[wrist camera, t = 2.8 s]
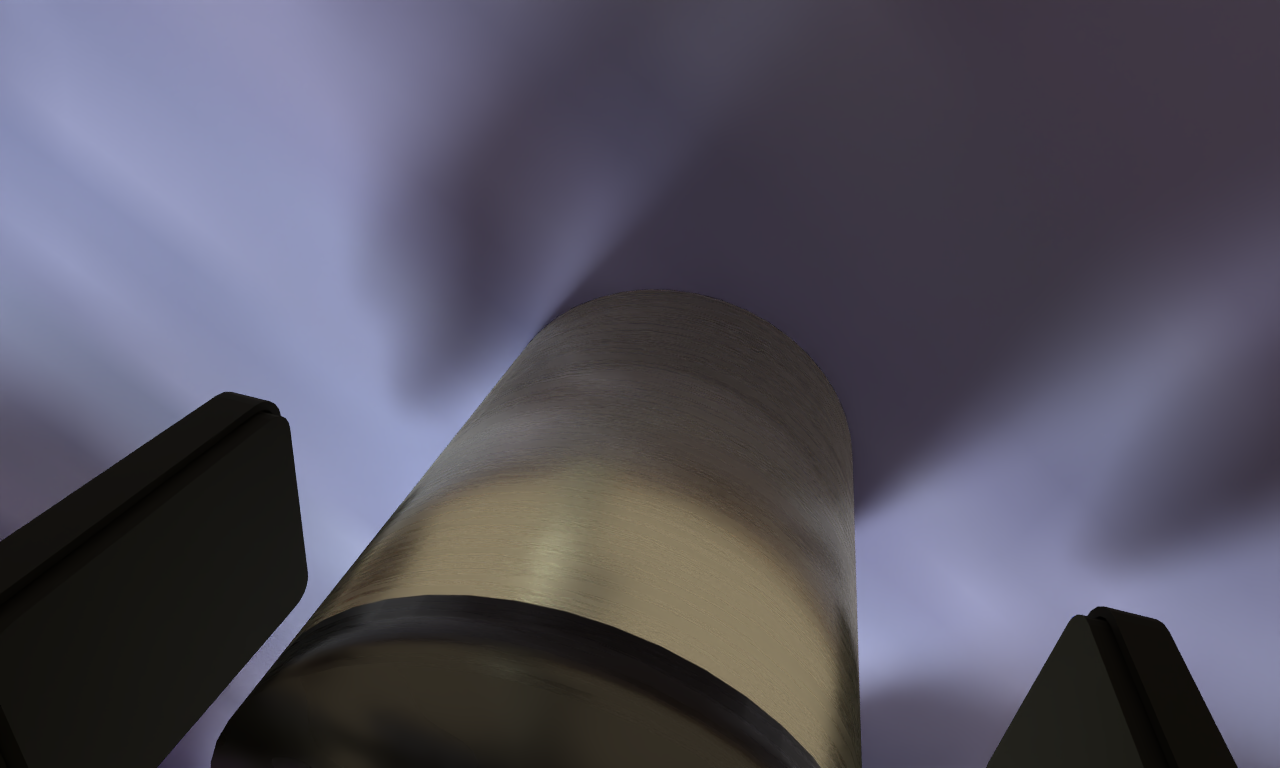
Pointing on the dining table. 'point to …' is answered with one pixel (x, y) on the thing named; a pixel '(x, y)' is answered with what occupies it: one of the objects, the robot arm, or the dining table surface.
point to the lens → (599, 570)
